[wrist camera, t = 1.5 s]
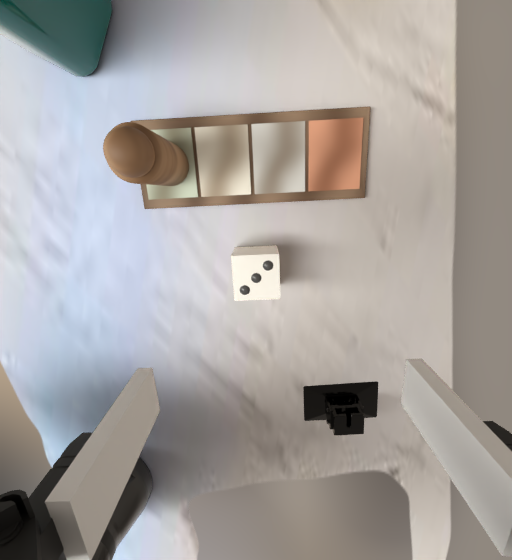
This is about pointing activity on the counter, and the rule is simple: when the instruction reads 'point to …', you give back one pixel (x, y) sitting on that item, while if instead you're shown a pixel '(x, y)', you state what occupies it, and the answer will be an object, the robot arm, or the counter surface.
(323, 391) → the black piece
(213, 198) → the game board
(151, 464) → the counter surface
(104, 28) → the green plastic tall bottle
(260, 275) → the die
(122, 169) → the wooden domed cylinder
